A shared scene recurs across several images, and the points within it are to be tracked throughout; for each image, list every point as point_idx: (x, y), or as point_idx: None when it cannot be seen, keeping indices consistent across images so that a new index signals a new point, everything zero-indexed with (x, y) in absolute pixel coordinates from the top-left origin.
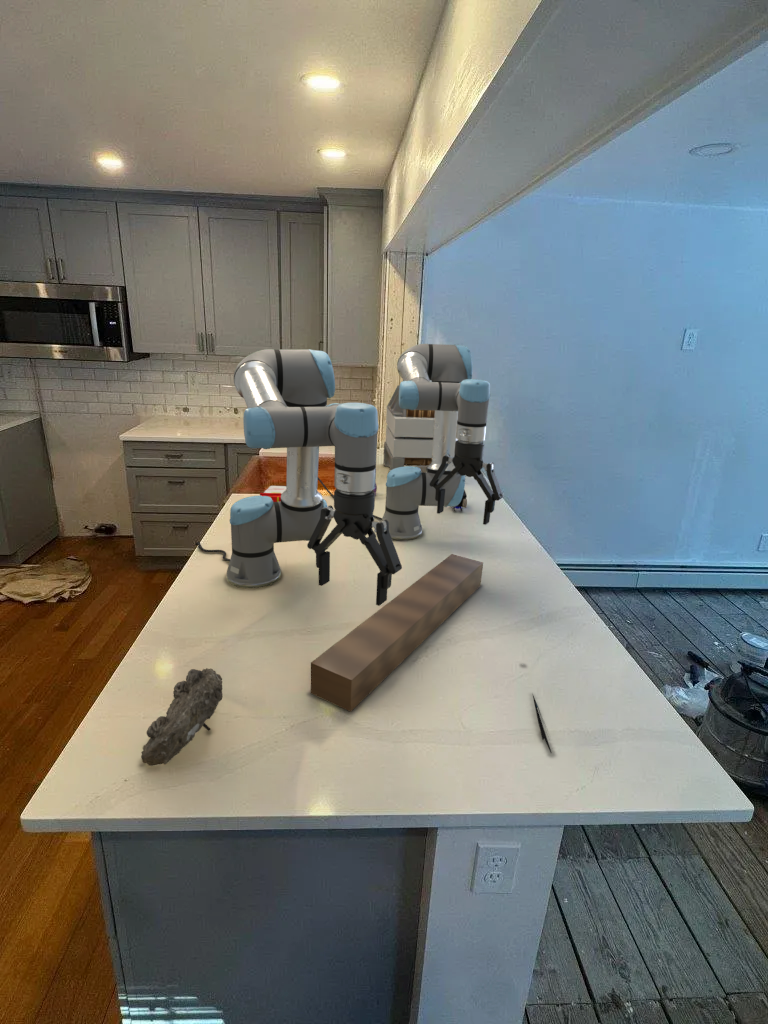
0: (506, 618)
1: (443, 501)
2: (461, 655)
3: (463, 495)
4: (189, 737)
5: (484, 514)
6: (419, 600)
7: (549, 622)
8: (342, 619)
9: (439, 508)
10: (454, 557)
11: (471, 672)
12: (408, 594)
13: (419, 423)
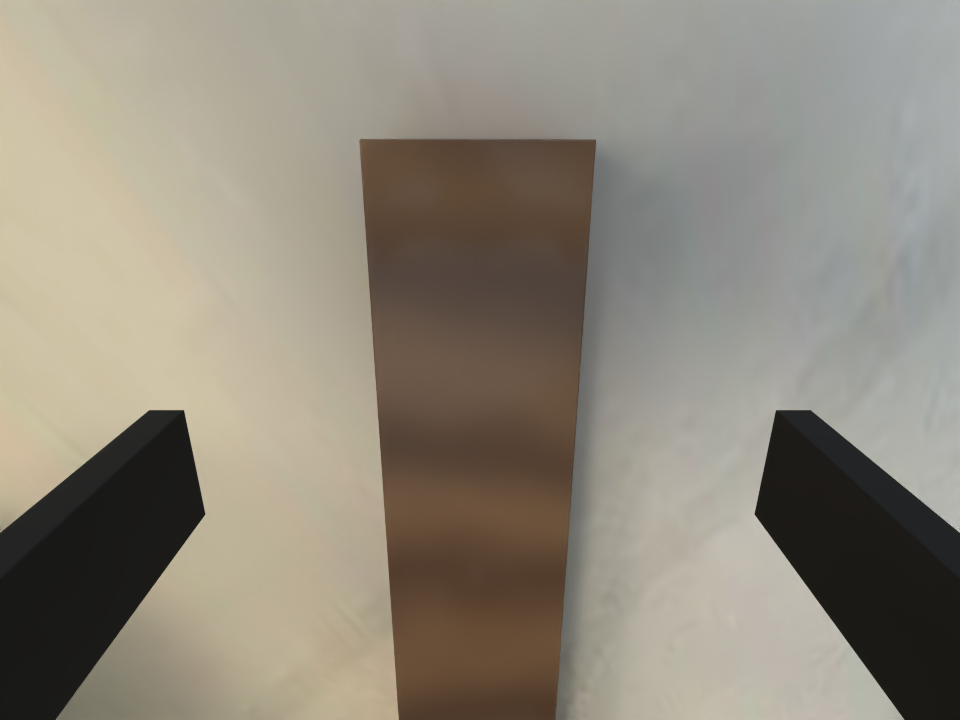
0: (761, 371)
1: (105, 518)
2: (672, 641)
3: None
4: None
5: (827, 601)
6: (488, 677)
7: (941, 298)
8: (264, 668)
9: (169, 560)
10: (403, 187)
11: (722, 686)
12: (427, 665)
13: None
